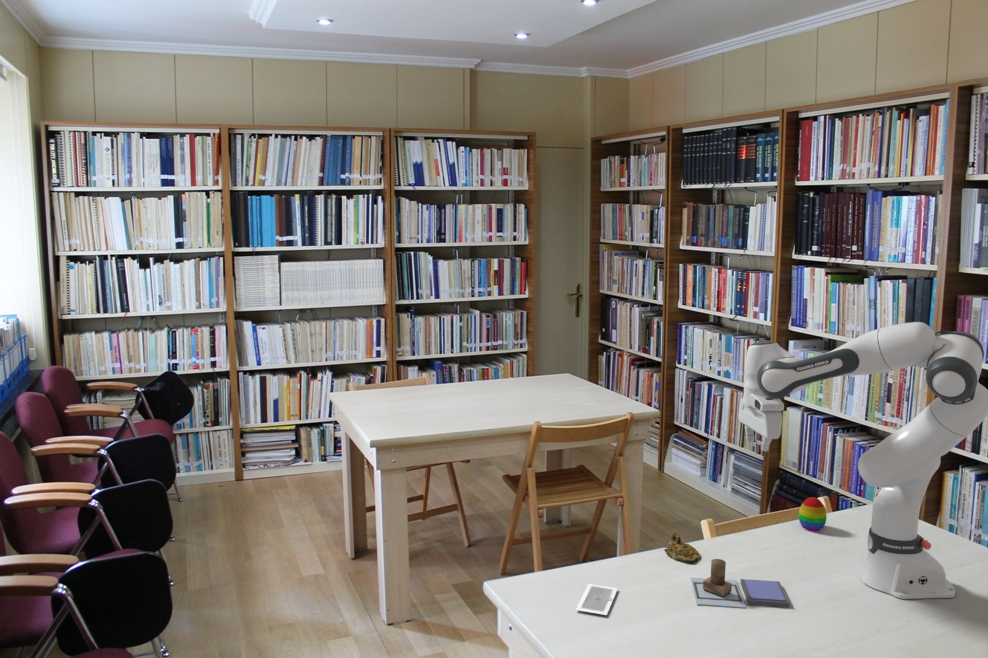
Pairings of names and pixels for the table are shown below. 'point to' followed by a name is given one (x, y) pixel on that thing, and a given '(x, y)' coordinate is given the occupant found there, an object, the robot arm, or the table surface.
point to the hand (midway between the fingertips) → (757, 445)
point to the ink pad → (764, 593)
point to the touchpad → (597, 599)
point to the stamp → (717, 579)
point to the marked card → (713, 600)
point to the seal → (681, 550)
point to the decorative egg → (812, 514)
